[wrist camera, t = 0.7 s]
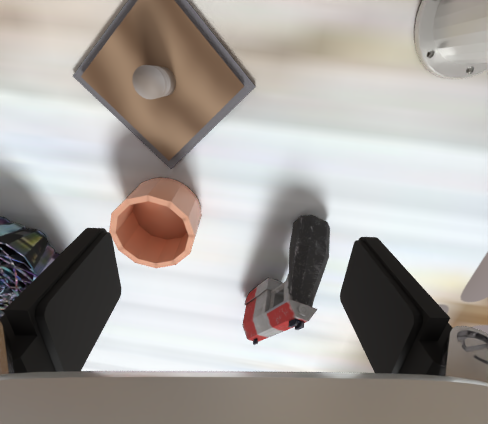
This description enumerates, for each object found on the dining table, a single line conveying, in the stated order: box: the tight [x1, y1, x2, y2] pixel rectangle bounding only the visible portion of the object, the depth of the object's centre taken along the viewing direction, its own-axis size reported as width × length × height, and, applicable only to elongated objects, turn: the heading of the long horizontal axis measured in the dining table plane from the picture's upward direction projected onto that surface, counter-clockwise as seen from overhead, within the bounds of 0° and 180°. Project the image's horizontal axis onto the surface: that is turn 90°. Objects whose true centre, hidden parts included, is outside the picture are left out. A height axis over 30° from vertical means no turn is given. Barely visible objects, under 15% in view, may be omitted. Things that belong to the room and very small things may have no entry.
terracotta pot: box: [109, 178, 202, 268], centre depth 39 cm, size 11×11×7 cm
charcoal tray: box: [73, 0, 255, 169], centre depth 34 cm, size 16×16×1 cm
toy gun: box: [243, 215, 330, 345], centre depth 44 cm, size 5×22×15 cm, turn 155°
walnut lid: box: [81, 0, 244, 161], centre depth 31 cm, size 14×14×6 cm
